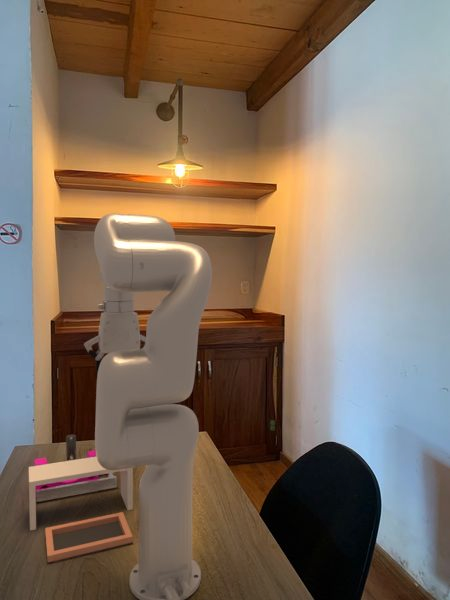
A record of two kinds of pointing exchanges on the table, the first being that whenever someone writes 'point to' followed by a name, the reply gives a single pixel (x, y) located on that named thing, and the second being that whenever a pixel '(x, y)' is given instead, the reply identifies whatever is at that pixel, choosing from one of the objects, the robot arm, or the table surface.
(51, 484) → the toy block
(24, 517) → the table surface
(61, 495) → the slider
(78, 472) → the tunnel
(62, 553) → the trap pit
